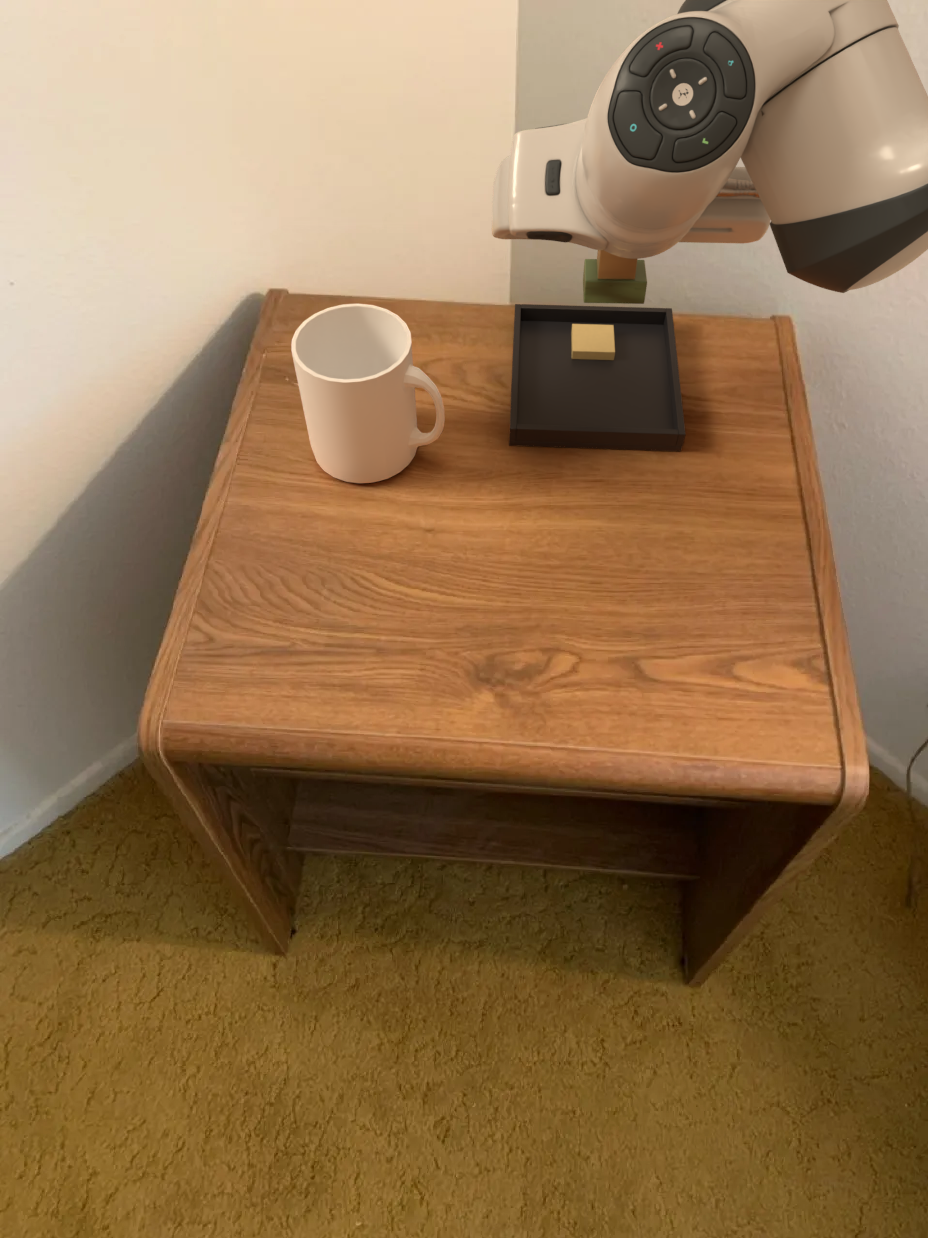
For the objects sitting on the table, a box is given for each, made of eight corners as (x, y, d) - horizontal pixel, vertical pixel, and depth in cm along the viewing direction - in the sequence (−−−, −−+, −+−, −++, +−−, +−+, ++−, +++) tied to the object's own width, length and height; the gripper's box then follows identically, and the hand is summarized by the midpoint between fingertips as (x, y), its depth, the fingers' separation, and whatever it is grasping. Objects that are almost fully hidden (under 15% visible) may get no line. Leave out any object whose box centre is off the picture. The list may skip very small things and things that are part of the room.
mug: (320, 409, 85) (300, 302, 75) (450, 413, 84) (447, 305, 75) (305, 486, 80) (282, 381, 70) (444, 490, 79) (440, 384, 69)
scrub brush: (641, 281, 79) (656, 174, 72) (644, 304, 76) (659, 195, 70) (582, 280, 79) (591, 173, 72) (583, 303, 77) (593, 194, 70)
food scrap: (612, 333, 90) (613, 324, 89) (613, 360, 87) (615, 352, 87) (571, 331, 90) (572, 323, 89) (571, 359, 88) (572, 350, 87)
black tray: (668, 325, 91) (672, 307, 89) (681, 451, 81) (685, 434, 80) (514, 321, 92) (514, 303, 90) (508, 445, 82) (509, 428, 80)
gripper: (805, 134, 60) (752, 192, 73) (490, 130, 61) (495, 188, 75) (796, 237, 61) (745, 275, 75) (487, 231, 62) (492, 270, 76)
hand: (618, 231), depth 75 cm, fingers closed on scrub brush, 3 cm apart
